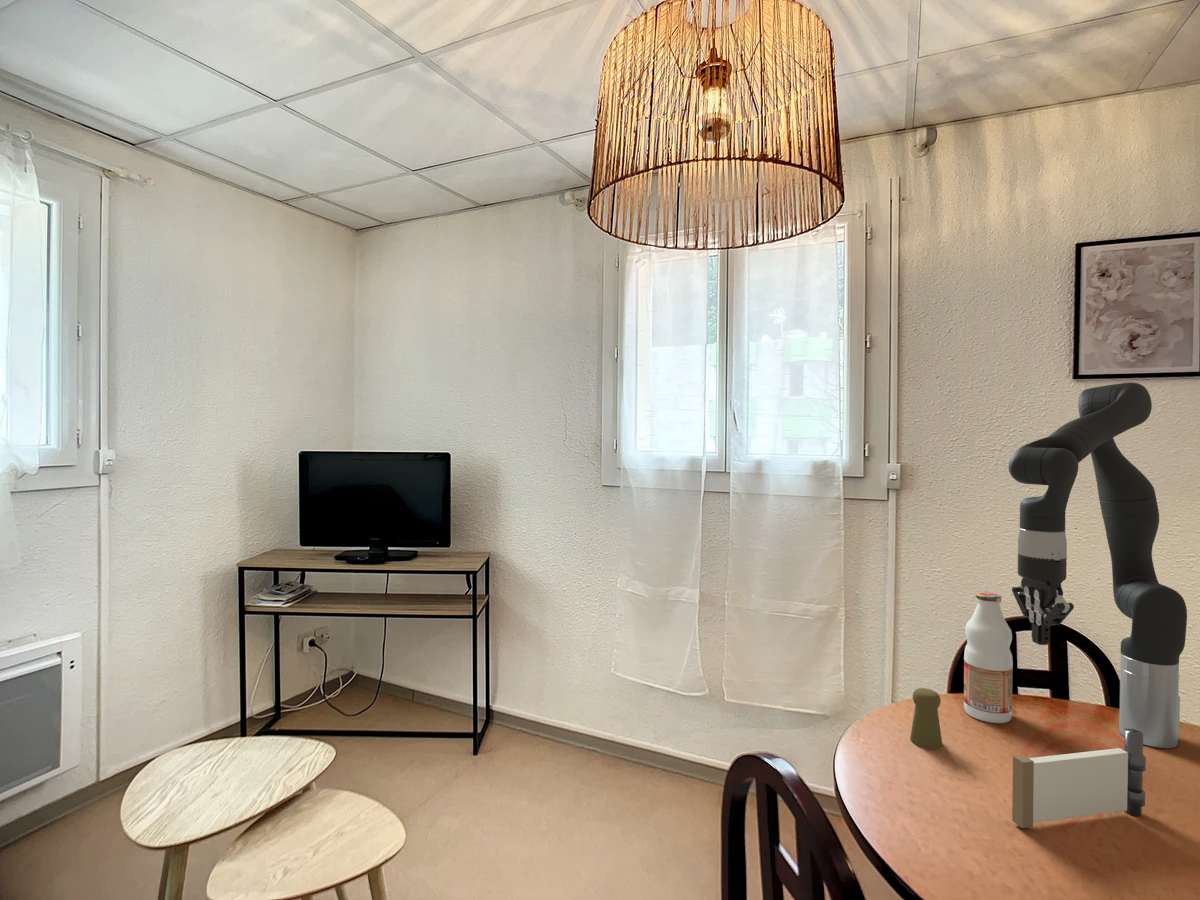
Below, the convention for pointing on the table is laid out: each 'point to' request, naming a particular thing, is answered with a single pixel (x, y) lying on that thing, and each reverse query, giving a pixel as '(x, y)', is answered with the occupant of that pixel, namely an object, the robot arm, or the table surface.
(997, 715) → the fruit juice
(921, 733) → the olive green pawn
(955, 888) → the table surface
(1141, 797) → the gate post
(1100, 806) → the gate
